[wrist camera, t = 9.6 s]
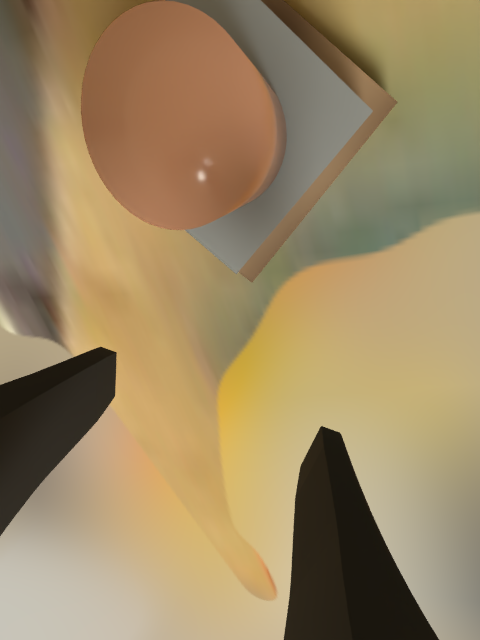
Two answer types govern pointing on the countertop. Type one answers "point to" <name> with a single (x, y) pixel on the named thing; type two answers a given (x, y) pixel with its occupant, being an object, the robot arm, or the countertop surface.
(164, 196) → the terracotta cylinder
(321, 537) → the robot arm
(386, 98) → the walnut slab
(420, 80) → the countertop surface
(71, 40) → the countertop surface
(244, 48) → the gray slab
